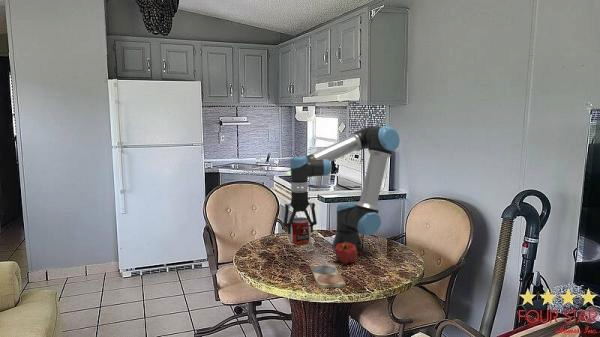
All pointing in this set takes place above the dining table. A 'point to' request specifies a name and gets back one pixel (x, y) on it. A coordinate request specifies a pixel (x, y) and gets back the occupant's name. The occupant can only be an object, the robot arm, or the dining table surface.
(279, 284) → the dining table surface
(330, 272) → the board
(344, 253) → the red apple
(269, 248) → the dining table surface
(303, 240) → the canned food
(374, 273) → the dining table surface
